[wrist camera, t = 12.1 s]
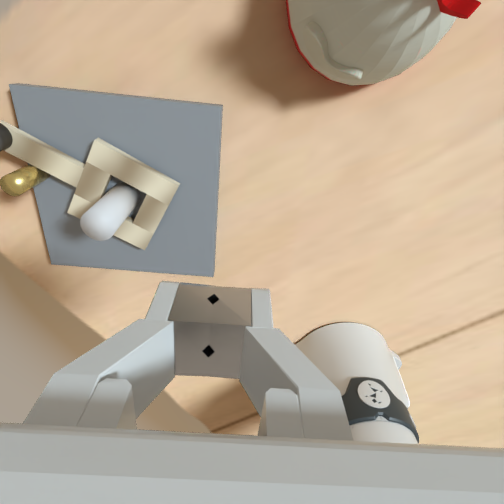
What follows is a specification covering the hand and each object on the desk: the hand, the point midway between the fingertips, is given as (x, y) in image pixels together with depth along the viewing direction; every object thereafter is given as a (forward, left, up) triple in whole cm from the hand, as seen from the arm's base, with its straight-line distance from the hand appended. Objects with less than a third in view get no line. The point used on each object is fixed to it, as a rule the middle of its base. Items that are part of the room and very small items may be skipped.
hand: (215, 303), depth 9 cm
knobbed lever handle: (-6, +16, -27) cm, 32 cm away
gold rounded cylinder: (-6, +21, -28) cm, 35 cm away
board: (-8, +12, -29) cm, 32 cm away
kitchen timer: (+12, -10, -29) cm, 33 cm away
